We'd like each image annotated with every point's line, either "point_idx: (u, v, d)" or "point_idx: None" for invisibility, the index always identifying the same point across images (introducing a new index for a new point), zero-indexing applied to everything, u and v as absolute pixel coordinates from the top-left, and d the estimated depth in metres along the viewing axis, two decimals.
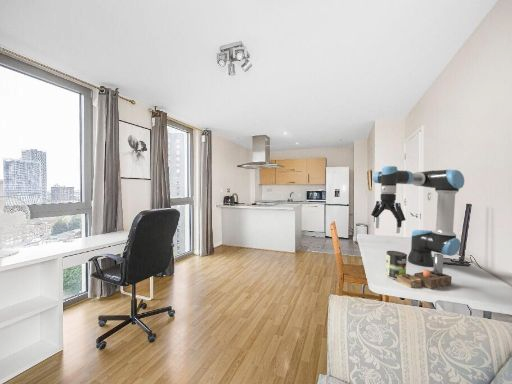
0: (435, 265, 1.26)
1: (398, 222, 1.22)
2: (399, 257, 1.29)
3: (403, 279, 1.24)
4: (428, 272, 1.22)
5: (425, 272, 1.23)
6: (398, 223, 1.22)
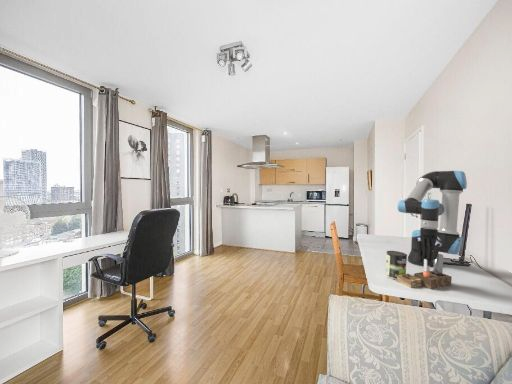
0: (435, 265, 1.26)
1: (428, 261, 1.22)
2: (399, 257, 1.29)
3: (403, 279, 1.24)
4: (428, 273, 1.22)
5: (425, 273, 1.23)
6: (428, 262, 1.22)
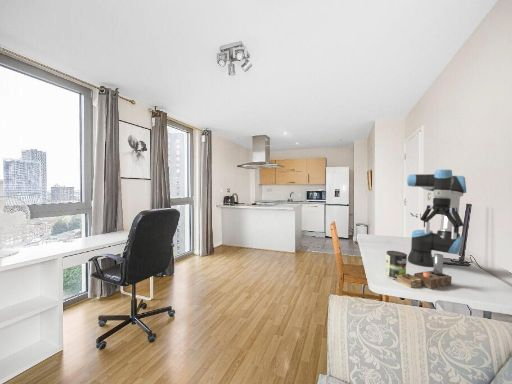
0: (435, 265, 1.26)
1: (455, 228, 1.18)
2: (399, 257, 1.29)
3: (403, 279, 1.24)
4: (428, 275, 1.22)
5: (425, 275, 1.23)
6: (455, 229, 1.18)
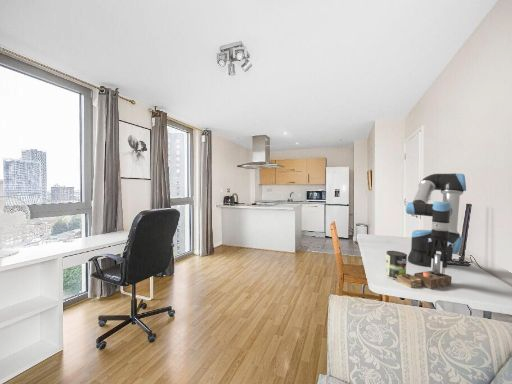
0: (435, 265, 1.26)
1: (443, 262, 1.23)
2: (399, 257, 1.29)
3: (403, 279, 1.24)
4: (428, 275, 1.22)
5: (425, 275, 1.23)
6: (443, 263, 1.23)
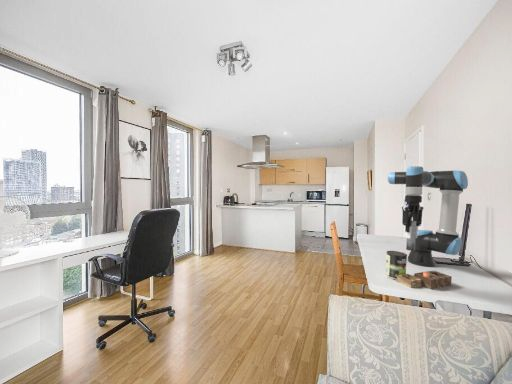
0: None
1: None
2: (399, 257, 1.29)
3: (403, 279, 1.24)
4: (428, 275, 1.22)
5: (425, 275, 1.23)
6: None
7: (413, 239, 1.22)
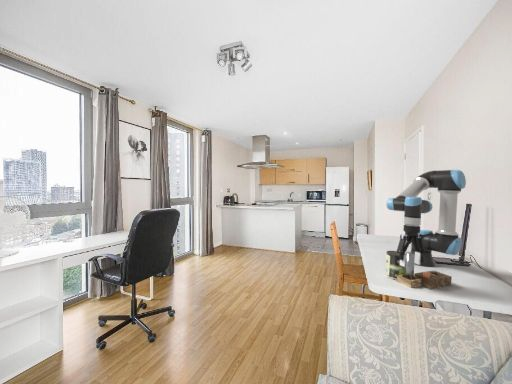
0: None
1: None
2: (399, 257, 1.29)
3: (403, 279, 1.24)
4: (428, 275, 1.22)
5: (425, 275, 1.23)
6: None
7: (411, 272, 1.23)
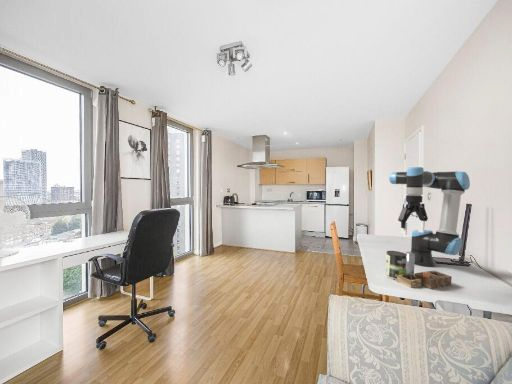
0: None
1: None
2: (399, 257, 1.29)
3: (403, 279, 1.24)
4: (428, 275, 1.22)
5: (425, 275, 1.23)
6: None
7: (411, 272, 1.23)
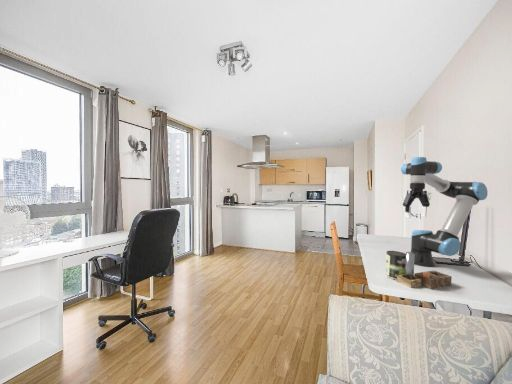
0: None
1: None
2: (399, 257, 1.29)
3: (403, 279, 1.24)
4: (428, 275, 1.22)
5: (425, 275, 1.23)
6: None
7: (411, 272, 1.23)
